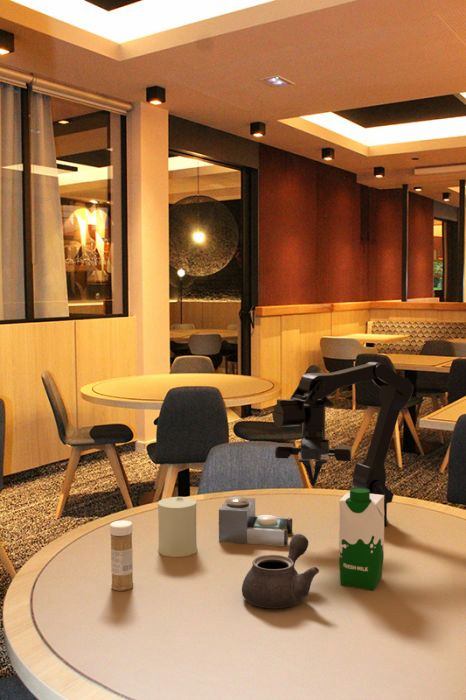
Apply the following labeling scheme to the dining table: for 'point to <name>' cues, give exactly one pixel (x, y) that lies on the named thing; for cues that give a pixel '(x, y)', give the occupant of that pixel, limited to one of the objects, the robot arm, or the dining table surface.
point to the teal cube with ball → (267, 522)
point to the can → (177, 526)
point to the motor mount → (249, 524)
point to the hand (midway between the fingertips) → (313, 485)
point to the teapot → (278, 578)
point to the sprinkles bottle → (121, 555)
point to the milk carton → (361, 538)
